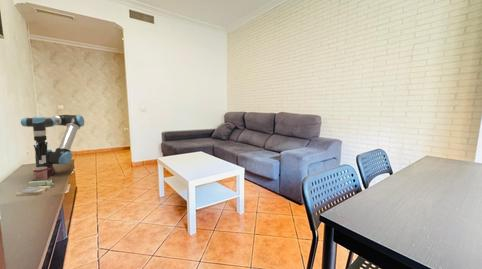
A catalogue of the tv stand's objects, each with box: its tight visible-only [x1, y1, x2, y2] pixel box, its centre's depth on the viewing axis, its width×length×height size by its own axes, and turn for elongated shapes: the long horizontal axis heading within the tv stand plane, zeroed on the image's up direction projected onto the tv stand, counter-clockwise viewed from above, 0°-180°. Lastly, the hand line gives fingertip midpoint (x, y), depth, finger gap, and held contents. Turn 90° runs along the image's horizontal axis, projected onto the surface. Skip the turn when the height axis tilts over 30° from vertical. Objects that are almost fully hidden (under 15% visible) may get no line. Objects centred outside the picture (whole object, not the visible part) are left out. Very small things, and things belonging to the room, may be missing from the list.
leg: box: [27, 178, 53, 187], centre depth 170 cm, size 15×4×4 cm, turn 109°
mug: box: [32, 167, 53, 181], centre depth 180 cm, size 13×9×14 cm
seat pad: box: [19, 187, 41, 193], centre depth 162 cm, size 11×11×1 cm
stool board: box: [15, 178, 55, 197], centre depth 165 cm, size 18×14×6 cm
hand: (42, 163), depth 179 cm, fingers open, 2 cm apart
